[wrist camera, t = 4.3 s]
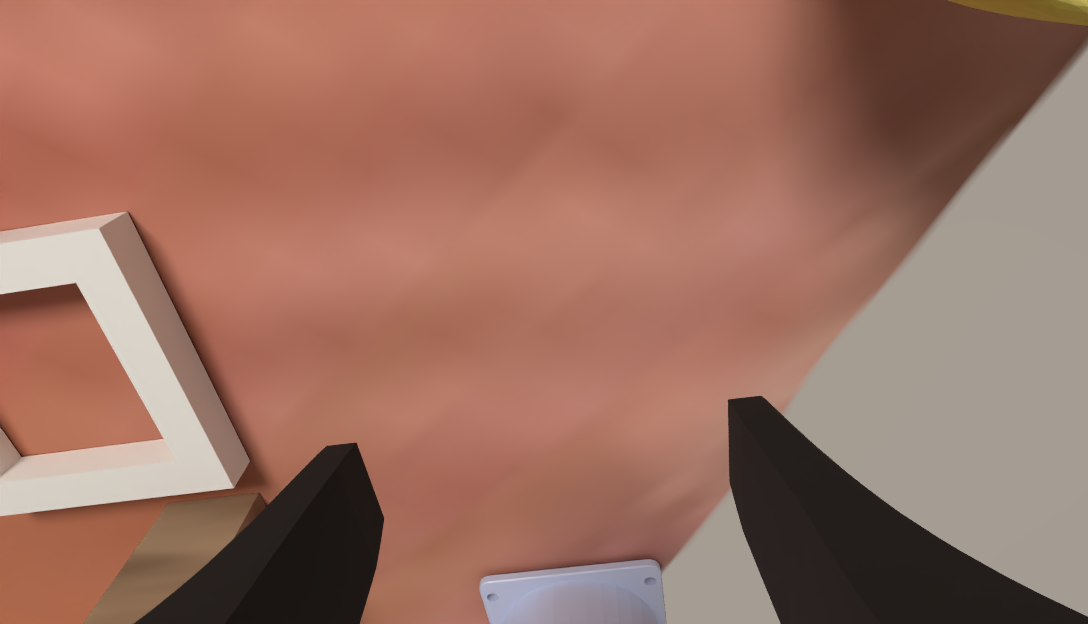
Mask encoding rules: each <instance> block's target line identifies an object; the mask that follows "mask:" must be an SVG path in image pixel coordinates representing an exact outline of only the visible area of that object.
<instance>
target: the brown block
mask: <svg viewBox="0 0 1088 624" xmlns="http://www.w3.org/2000/svg"><path fill="white" fill-rule="evenodd" d="M265 508H266V505H265V503H264V501H263V499H262V497H261V495H260V493H250V494H242V495H233V496H225V497H217V498H208V499H200V500H191V501H183V502H174V503H168V504H167V506H166V507H165V508H164V510H163V511H162V513H161V514H160V516H159V517H158V518H157V520H156V521H155V523H154V524H153V525H152V527H151V528H150V530H149V531H148V533H147V534H146V535H145V537H144V538H143V540H142V541H141V542H140V544H139V545H138V547H137V548H136V549H135V551H134V552H133V554H132V555H131V557H130V558H129V559H128V561H127V562H126V564H125V565H124V566H123V568H122V569H121V571H120V572H119V573H118V575H117V576H116V578H115V579H114V581H113V582H112V583H111V585H110V586H109V588H108V589H107V590H106V592H105V593H104V595H103V596H102V598H101V599H100V600H99V602H98V603H97V605H96V606H95V607H94V609H93V610H92V612H91V613H90V614H89V616H88V617H87V619H86V620H85V622H84V623H83V624H134V623H135V622H136V621H138V620H139V619H140V618H142V617H143V616H144V615H146V614H147V613H148V612H150V611H151V610H152V609H153V608H155V607H156V606H157V605H158V604H160V603H161V602H162V601H163V600H165V599H166V598H167V597H168V596H170V595H171V594H172V593H173V592H174V591H176V590H177V589H178V588H179V587H181V586H182V585H183V584H184V583H185V582H187V581H188V580H189V579H190V578H191V577H192V576H194V575H195V574H196V573H197V572H198V571H199V570H200V569H202V568H203V567H204V566H205V565H206V564H207V563H208V562H209V561H210V560H211V559H213V558H214V557H215V556H216V555H217V554H218V553H219V552H220V551H221V550H222V549H223V548H224V547H225V546H226V545H227V544H229V543H230V542H231V541H232V540H233V539H234V538H235V537H236V536H237V535H238V534H239V533H240V532H241V531H242V530H243V529H244V528H246V527H247V526H248V525H249V524H250V523H251V522H252V521H253V520H254V519H255V518H256V517H257V516H258V515H259V514H260V513H261V512H262V511H263V510H264V509H265Z"/></svg>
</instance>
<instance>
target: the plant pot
mask: <svg viewBox="0 0 1088 624" xmlns="http://www.w3.org/2000/svg"><path fill="white" fill-rule="evenodd" d="M948 1H951V2H954V3H958V4H961V5H965V6H968V7H972V8H976V9H981V10H986V11H990V12H995V13H1000V14H1005V15H1010V16H1016V17H1023V18H1030V19H1036V20H1043V21H1051V22H1059V23H1068V24H1076V25H1086V26H1088V0H948Z"/></svg>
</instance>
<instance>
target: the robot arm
mask: <svg viewBox="0 0 1088 624" xmlns="http://www.w3.org/2000/svg"><path fill="white" fill-rule="evenodd" d="M728 425H729V477H730V485H731V489H732V493H733V496H734V500H735V504H736V508H737V511H738V514H739V518H740V522H741V525H742V529H743V532H744V535H745V537H746V540H747V542H748V544H749V547H750V550H751V552H752V554H753V557H754V559H755V562H756V564H757V567H758V569H759V572H760V574H761V577H762V579H763V581H764V584H765V586H766V589H767V591H768V594H769V596H770V599H771V601H772V603H773V606H774V608H775V611H776V613H777V616H778V618H779V620H780V623H781V624H1088V617H1087V616H1085V615H1083V614H1081V613H1079V612H1076V611H1074V610H1072V609H1070V608H1068V607H1066V606H1064V605H1062V604H1060V603H1058V602H1055V601H1054V600H1051V599H1049V598H1047V597H1045V596H1043V595H1041V594H1039V593H1037V592H1035V591H1033V590H1031V589H1029V588H1027V587H1025V586H1023V585H1021V584H1020V583H1017V582H1015V581H1014V580H1012V579H1010V578H1008V577H1006V576H1004V575H1002V574H1000V573H999V572H997V571H995V570H993V569H992V568H990V567H988V566H986V565H984V564H983V563H981V562H979V561H977V560H975V559H974V558H972V557H970V556H968V555H967V554H965V553H963V552H961V551H959V550H958V549H956V548H955V547H953V546H951V545H950V544H948V543H946V542H945V541H943V540H941V539H939V538H938V537H936V536H935V535H933V534H932V533H930V532H929V531H927V530H926V529H924V528H922V527H921V526H919V525H918V524H916V523H915V522H913V521H912V520H910V519H909V518H907V517H906V516H904V515H902V514H901V513H900V512H898V511H897V510H895V509H894V508H893V507H891V506H890V505H889V504H887V503H886V502H884V501H883V500H882V499H880V498H879V497H878V496H876V495H875V494H874V493H873V492H871V491H870V490H868V489H867V488H866V487H865V486H863V485H862V484H861V483H859V482H858V481H857V480H856V479H854V478H853V477H852V476H851V475H849V474H848V473H847V472H846V471H845V470H843V469H842V468H841V467H840V466H839V465H837V464H836V463H835V462H834V461H833V460H831V459H830V458H829V457H828V456H827V455H826V454H824V453H823V452H822V451H821V450H820V449H819V448H817V447H816V446H815V445H814V444H813V443H812V442H811V441H810V440H808V439H807V438H806V437H805V436H804V435H803V434H802V433H801V432H800V431H798V430H797V428H795V427H794V426H793V425H792V424H791V423H790V422H789V421H788V420H787V419H786V418H785V417H784V416H783V415H782V414H781V413H780V412H779V411H777V410H776V409H775V408H774V407H773V406H772V405H771V404H770V403H769V402H768V401H767V400H766V399H765V398H763V397H762V396H755V397H746V398H738V399H729V400H728ZM383 523H384V516H383V514H382V511H381V508H380V506H379V503H378V500H377V497H376V495H375V492H374V489H373V486H372V484H371V481H370V478H369V476H368V473H367V470H366V467H365V465H364V462H363V459H362V456H361V454H360V451H359V448H358V446H357V443H349V444H340V445H331V446H326V447H325V448H324V449H323V450H322V451H321V452H320V453H319V454H318V455H317V456H316V457H315V458H314V459H313V460H312V461H311V462H310V463H309V464H308V465H307V466H306V467H305V468H304V469H303V470H302V471H301V472H300V473H299V474H298V475H297V476H296V477H295V478H294V479H293V480H292V481H291V482H290V483H289V484H288V485H287V486H286V487H285V488H284V489H283V490H282V491H281V492H280V493H279V494H278V495H277V496H276V497H275V499H274V500H273V501H272V502H271V503H270V504H269V505H268V506H267V507H266V508H265V509H264V510H263V511H262V512H261V513H260V514H259V515H258V516H257V517H256V518H255V519H254V520H253V521H252V522H251V523H250V524H249V525H248V526H247V527H246V528H244V529H243V530H242V531H241V532H240V533H239V534H238V535H237V536H236V537H235V538H234V539H233V540H232V541H231V542H230V543H229V544H227V545H226V546H225V547H224V548H223V549H222V550H221V551H220V552H219V553H218V554H217V555H216V556H215V557H214V558H213V559H211V560H210V561H209V562H208V563H207V564H206V565H205V566H204V567H203V568H202V569H200V570H199V571H198V572H197V573H196V574H195V575H194V576H192V577H191V578H190V579H189V580H188V581H187V582H185V583H184V584H183V585H182V586H181V587H179V588H178V589H177V590H176V591H174V592H173V593H172V594H171V595H170V596H168V597H167V598H166V599H165V600H163V601H162V602H161V603H160V604H158V605H157V606H156V607H155V608H153V609H152V610H151V611H150V612H148V613H147V614H146V615H144V616H143V617H142V618H140V619H139V620H138V621H136V622H135V623H134V624H360V621H361V617H362V614H363V611H364V607H365V604H366V601H367V597H368V594H369V591H370V587H371V584H372V581H373V577H374V574H375V570H376V566H377V560H378V555H379V549H380V543H381V537H382V530H383ZM650 577H651V578H650ZM480 593H481V596H482V600H483V603H484V606H485V609H486V613H487V616H488V619H489V622H490V624H666V615H665V605H664V596H663V587H662V579H661V570H660V565H659V563H658V562H657V561H655V560H652V559H643V560H634V561H624V562H615V563H605V564H595V565H586V566H576V567H567V568H557V569H547V570H538V571H528V572H518V573H509V574H499V575H490V576H485V577H484V578H482V579H481V581H480Z"/></svg>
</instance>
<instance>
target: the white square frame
mask: <svg viewBox="0 0 1088 624" xmlns="http://www.w3.org/2000/svg"><path fill="white" fill-rule="evenodd" d="M72 283H76V284H77V286H78V287H79V289H80V291H81V293H82V294H83V296H84V298H85V300H86V302H87V303H88V305H89V307H90V309H91V310H92V312H93V314H94V316H95V317H96V319H97V321H98V323H99V325H100V326H101V328H102V330H103V332H104V333H105V335H106V337H107V339H108V341H109V342H110V344H111V346H112V348H113V349H114V351H115V353H116V355H117V357H118V358H119V360H120V362H121V364H122V365H123V367H124V369H125V371H126V373H127V374H128V376H129V378H130V380H131V381H132V383H133V385H134V387H135V389H136V390H137V392H138V394H139V396H140V397H141V399H142V401H143V403H144V405H145V406H146V408H147V410H148V412H149V413H150V415H151V417H152V419H153V421H154V422H155V424H156V426H157V428H158V429H159V431H160V433H161V435H162V437H163V438H164V439H159V440H151V441H143V442H136V443H128V444H120V445H112V446H104V447H96V448H88V449H81V450H73V451H65V452H57V453H49V454H41V455H34V456H26V457H21V456H20V454H19V453H18V452H17V450H16V449H15V447H14V446H13V445H12V443H11V442H10V440H9V439H8V437H7V436H6V435H5V433H4V432H3V430H2V429H1V428H0V516H5V515H13V514H21V513H30V512H38V511H46V510H55V509H63V508H72V507H80V506H88V505H97V504H105V503H113V502H122V501H130V500H139V499H147V498H155V497H164V496H172V495H180V494H189V493H197V492H206V491H214V490H222V489H231V488H234V487H235V485H236V484H237V482H238V480H239V479H240V477H241V476H242V474H243V472H244V471H245V469H246V467H247V466H248V464H249V462H250V460H249V458H248V456H247V454H246V452H245V450H244V448H243V446H242V444H241V442H240V440H239V438H238V435H237V433H236V431H235V429H234V427H233V425H232V423H231V421H230V419H229V417H228V415H227V413H226V411H225V409H224V407H223V405H222V403H221V401H220V399H219V397H218V395H217V393H216V391H215V389H214V387H213V385H212V383H211V381H210V379H209V377H208V374H207V372H206V370H205V368H204V366H203V364H202V362H201V360H200V358H199V356H198V354H197V352H196V350H195V348H194V346H193V344H192V342H191V340H190V338H189V336H188V334H187V332H186V330H185V328H184V326H183V324H182V322H181V320H180V318H179V315H178V313H177V311H176V309H175V307H174V305H173V303H172V301H171V299H170V297H169V295H168V293H167V291H166V289H165V287H164V285H163V283H162V281H161V279H160V277H159V275H158V273H157V271H156V269H155V267H154V265H153V263H152V261H151V259H150V257H149V254H148V252H147V250H146V248H145V246H144V244H143V242H142V240H141V238H140V236H139V234H138V232H137V230H136V228H135V226H134V224H133V222H132V220H131V218H130V216H129V214H128V212H121V213H114V214H108V215H102V216H95V217H89V218H83V219H77V220H70V221H64V222H58V223H52V224H45V225H39V226H33V227H26V228H20V229H14V230H8V231H1V232H0V294H5V293H12V292H18V291H25V290H32V289H38V288H45V287H52V286H58V285H65V284H72Z"/></svg>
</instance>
